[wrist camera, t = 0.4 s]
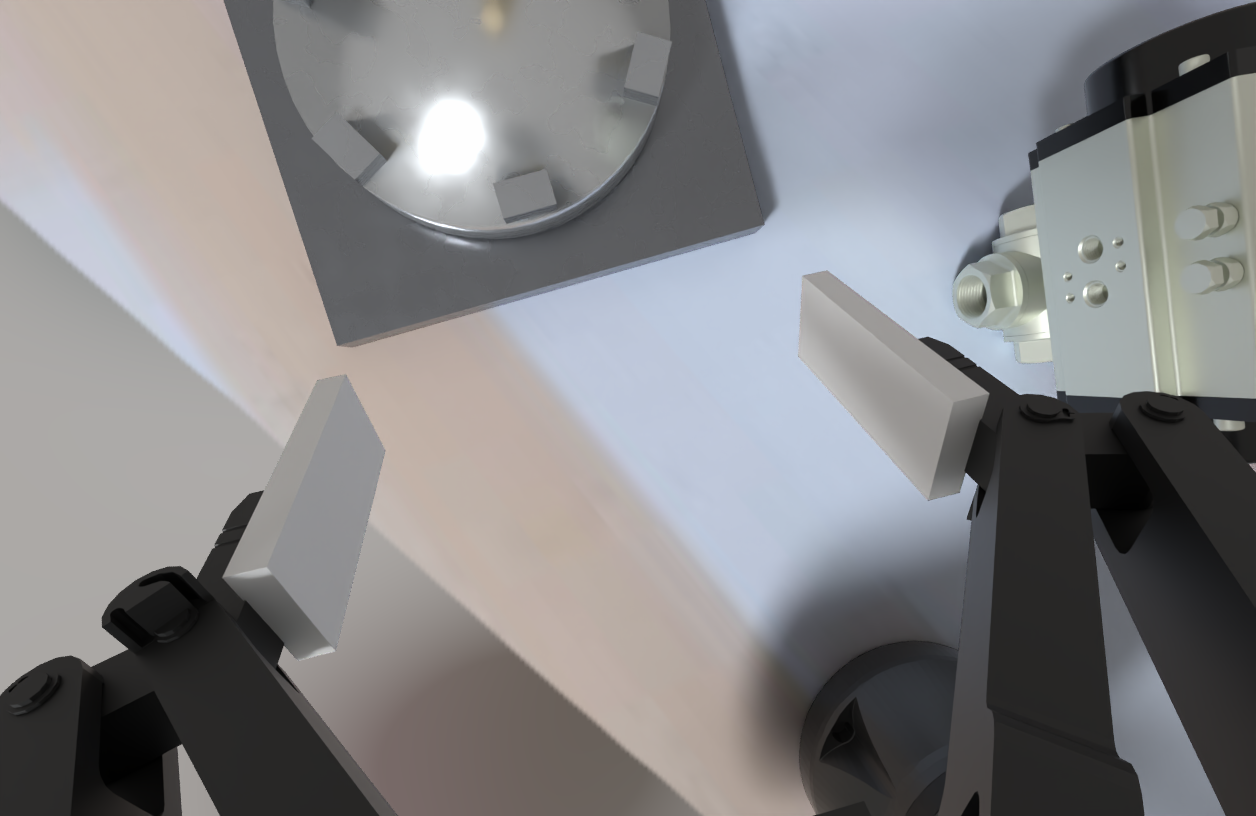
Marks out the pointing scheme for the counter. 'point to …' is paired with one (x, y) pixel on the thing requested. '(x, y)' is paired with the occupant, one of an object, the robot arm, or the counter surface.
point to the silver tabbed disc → (478, 101)
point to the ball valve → (1141, 234)
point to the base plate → (511, 267)
